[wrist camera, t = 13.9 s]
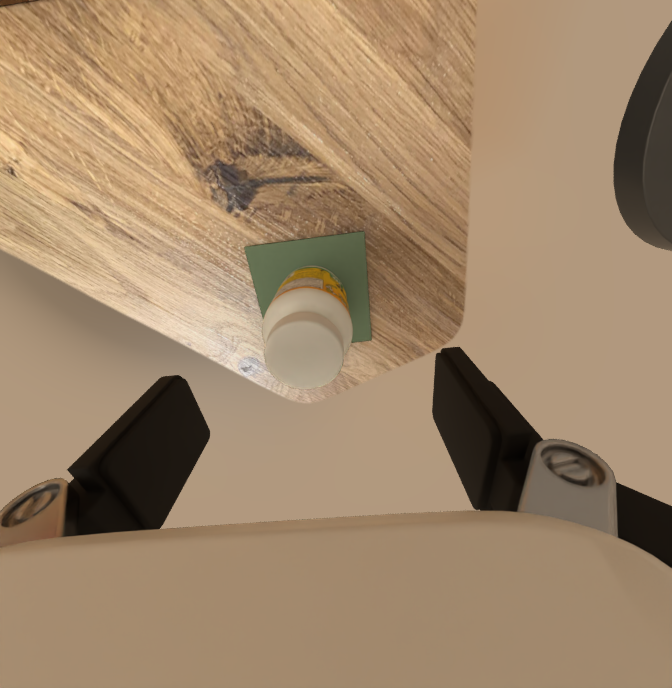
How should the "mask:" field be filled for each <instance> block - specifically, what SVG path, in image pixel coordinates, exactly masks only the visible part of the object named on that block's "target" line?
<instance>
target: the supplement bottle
mask: <svg viewBox="0 0 672 688" xmlns="http://www.w3.org/2000/svg"><path fill="white" fill-rule="evenodd" d="M262 335H263V340H264V343H265V349H264V359H265V363H266V365H267V368H268V370H269V371H270V373H271V374H272V375H273V376H274V377H275V378H276V379H277V380H278V381H280V382H281V383H283V384H284V385H286V386H289V387H292V388H295V389H302V390H310V389H316V388H319V387H322V386H324V385H326V384H328V383H330V382H331V381H332V380H333V379H334V378H336V376H337V375H338V374H339V372H340V370H341V368H342V365H343V361H344V356H345V354H346V353H347V351H348V349H349V347H350V344H351V341H352V335H353V327H352V322H351V317H350V312H349V307H348V302H347V297H346V292H345V289H344V287H343V285H342V283H341V282H340V280H339V279H338V278H337V277H336V276H335V275H334V274H333V273H332V272H330V271H329V270H327V269H325V268H323V267H319V266H305V267H301V268H299V269H296V270H295V271H293V272H292V273H290V274H289V275H288V276H287V277H286V278H285V280H284V281H283V283H282V284H281V286H280V288H279V289H278V291H277V293H276V295H275V297H274V298H273V300H272V302H271V304H270V305H269V307H268V309H267V311H266V313H265V316H264V319H263V324H262Z"/></svg>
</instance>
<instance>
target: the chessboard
mask: <svg viewBox="0 0 672 688" xmlns="http://www.w3.org/2000/svg"><path fill="white" fill-rule="evenodd" d="M28 1H34V0H0V6H3V5H9V4H15V3H21V2H28Z"/></svg>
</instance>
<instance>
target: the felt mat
mask: <svg viewBox="0 0 672 688" xmlns="http://www.w3.org/2000/svg"><path fill="white" fill-rule="evenodd" d="M244 249H245V253H246V256H247V260H248V264H249V268H250V272H251V275H252V279H253V283H254V287H255V291H256V294H257V298H258V302H259V306H260V310H261V313H262V317H263V319H264V316H265V313H266V311H267V309H268V307H269V305H270V304H271V302H272V300H273V298H274V297H275V295H276V293H277V291H278V289H279V288H280V286H281V284H282V283H283V281H284V280H285V278H286V277H287V276H288V275H289V274H290V273H292V272H293V271H295V270H296V269H299V268H301V267H305V266H319V267H323V268H325V269H327V270H329V271H330V272H332V273H333V274H334V275H335V276H336V277H337V278H338V279H339V280H340V282H341V283H342V285H343V287H344V289H345V292H346V297H347V302H348V307H349V312H350V317H351V322H352V327H353V335H352V341H351V343H354V342H362V341H371V340H372V338H371V323H370V308H369V293H368V278H367V262H366V247H365V232H364V231H360V232H353V233H345V234H338V235H330V236H322V237H315V238H307V239H300V240H292V241H284V242H277V243H269V244H262V245H254V246H246V247H244Z"/></svg>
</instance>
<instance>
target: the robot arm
mask: <svg viewBox="0 0 672 688" xmlns="http://www.w3.org/2000/svg"><path fill="white" fill-rule="evenodd" d="M432 413H433V418H434V421H435V423H436V426H437V428H438V430H439V432H440V434H441V437H442V439H443V441H444V443H445V446H446V448H447V450H448V452H449V455H450V457H451V459H452V461H453V463H454V465H455V468H456V470H457V473H458V474H459V477H460V479H461V481H462V484H463V486H464V488H465V490H466V493H467V495H468V497H469V499H470V502H471V504H472V506H473V507H474V509H476V510H480V511H447V512H425V513H403V514H402V513H401V514H385V515H369V516H353V517H336V518H319V519H302V520H287V521H273V522H256V523H242V524H228V525H227V524H226V525H211V526H196V527H183V528H169V529H160V528H161V526H162V525H163V523H164V521H165V520H166V518H167V516H168V514H169V512H170V510H171V509H172V506H173V505H174V503H175V501H176V499H177V498H178V496H179V494H180V492H181V490H182V488H183V486H184V484H185V483H186V481H187V479H188V477H189V475H190V474H191V472H192V470H193V468H194V466H195V464H196V462H197V461H198V458H199V457H200V455H201V453H202V451H203V450H204V448H205V446H206V444H207V442H208V440H209V438H210V430H209V428H208V426H207V424H206V421H205V419H204V417H203V415H202V413H201V411H200V408H199V406H198V404H197V402H196V400H195V398H194V395H193V393H192V391H191V389H190V387H189V385H188V383H187V381H186V380H185V379H183V378H182V377H181V376H179V375H174V376H165V377H161V378H160V379H159V380H158V381H157V382H156V383H154V385H153V386H151V387H150V389H148V390H147V391H146V392H145V393H144V394H143V395H142V396H141V397H140V398H139V400H137V401H136V402H135V403H134V404H133V405H132V406H131V407H130V408H129V409H128V410H127V411H126V412H125V413H124V414H123V415H122V416H121V417H120V418H119V419H118V420H117V421H116V422H115V423H114V424H113V425H112V426H111V427H110V428H109V429H108V430H107V431H106V432H105V433H104V434H103V435H102V436H101V437H100V438H99V439H98V440H97V441H96V442H95V443H94V444H93V445H92V446H91V447H90V448H89V449H88V450H87V451H86V452H85V453H84V454H83V455H82V456H81V457H79V458H78V459H77V461H75V462H74V463H73V464H72V466H70V467H69V468H68V469H67V470H68V471H69V472H70V474H71V475H72V476H73V477H74V479H73V480H72V481H71V482H70V483H68V482H67V481H66V480H64V479H62V478H55V479H51V480H47V481H44V482H42V483H39V484H37V485H35V486H33V487H31V488H30V489H28V490H26V491H24V492H23V493H21V494H20V495H19V496H17V497H16V498H14V499H13V500H12V501H11V502H9V503H8V504H7V505H6V506H5V507H4V508H3V509H2V510H1V511H0V688H672V506H670V505H668V504H665V503H663V502H660V501H658V500H656V499H654V498H651V497H649V496H647V495H644V494H642V493H640V492H638V491H635V490H633V489H631V488H628V487H626V486H624V485H621V484H619V483H617V482H616V480H615V476H614V473H613V471H612V470H611V468H610V467H609V466H608V464H607V463H606V462H605V461H604V460H603V459H601V458H600V457H599V456H598V455H597V454H595V453H593V452H592V451H590V450H588V449H587V448H585V447H583V446H580V445H578V444H575V443H573V442H569V441H565V440H559V439H558V440H557V439H548V440H543V439H542V438H541V436H540V435H539V434H538V433H537V432H536V431H535V430H534V428H533V427H532V426H531V425H530V424H529V423H528V422H527V420H526V419H525V418H524V417H523V416H522V415H521V414H520V412H519V411H518V410H517V409H516V408H515V407H514V406H513V405H512V403H511V402H510V401H509V400H508V399H507V397H506V396H505V395H504V394H503V393H502V392H501V391H500V389H499V388H498V387H497V386H496V385H495V384H494V383H493V382H491V381H488V380H487V378H486V377H485V376H484V375H483V374H482V373H481V371H480V370H479V369H478V368H477V367H476V365H475V364H474V363H473V362H472V361H471V360H470V358H469V357H468V356H467V355H466V354H465V353H464V351H463V350H462V349H461V348H460V347H453V348H443V349H442V350H441V353H437V354H436V360H435V376H434V393H433V408H432Z"/></svg>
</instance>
